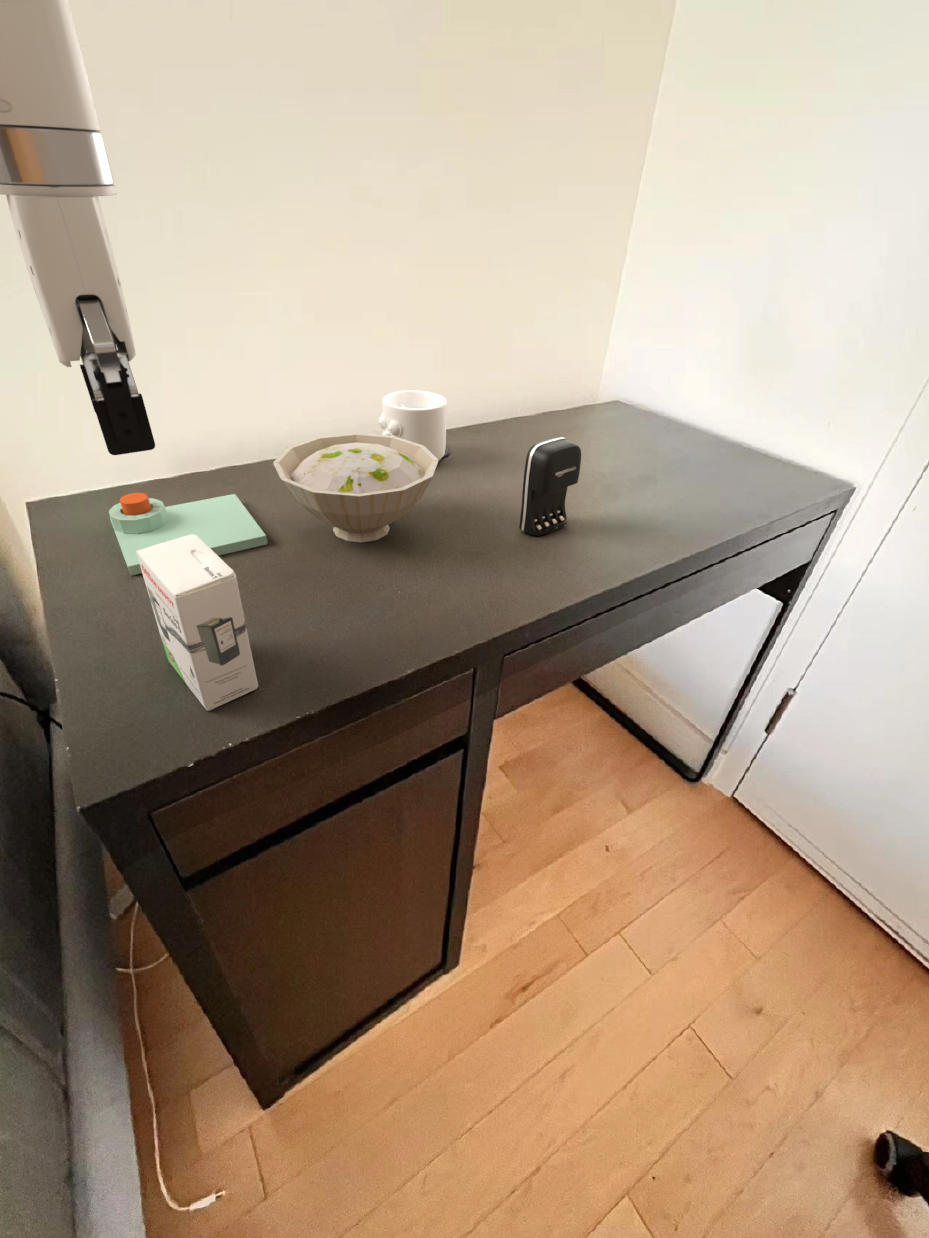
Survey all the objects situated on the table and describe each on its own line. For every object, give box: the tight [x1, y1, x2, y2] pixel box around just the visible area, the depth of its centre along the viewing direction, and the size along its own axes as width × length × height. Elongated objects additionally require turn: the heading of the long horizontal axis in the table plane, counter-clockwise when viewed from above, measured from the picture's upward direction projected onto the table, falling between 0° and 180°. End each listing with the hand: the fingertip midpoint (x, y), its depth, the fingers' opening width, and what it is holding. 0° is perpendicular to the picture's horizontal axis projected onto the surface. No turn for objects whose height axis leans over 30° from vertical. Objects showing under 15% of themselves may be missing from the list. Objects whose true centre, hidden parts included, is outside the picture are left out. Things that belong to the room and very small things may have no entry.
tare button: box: [119, 492, 151, 516], centre depth 72 cm, size 3×3×2 cm
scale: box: [108, 493, 268, 577], centre depth 73 cm, size 15×13×3 cm
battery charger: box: [518, 436, 582, 537], centre depth 76 cm, size 7×4×11 cm, turn 130°
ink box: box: [136, 534, 259, 712], centre depth 51 cm, size 9×5×12 cm, turn 42°
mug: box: [378, 389, 448, 461], centre depth 95 cm, size 12×10×9 cm
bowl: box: [272, 432, 440, 543], centre depth 75 cm, size 19×19×10 cm
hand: (124, 430), depth 49 cm, fingers open, 9 cm apart
